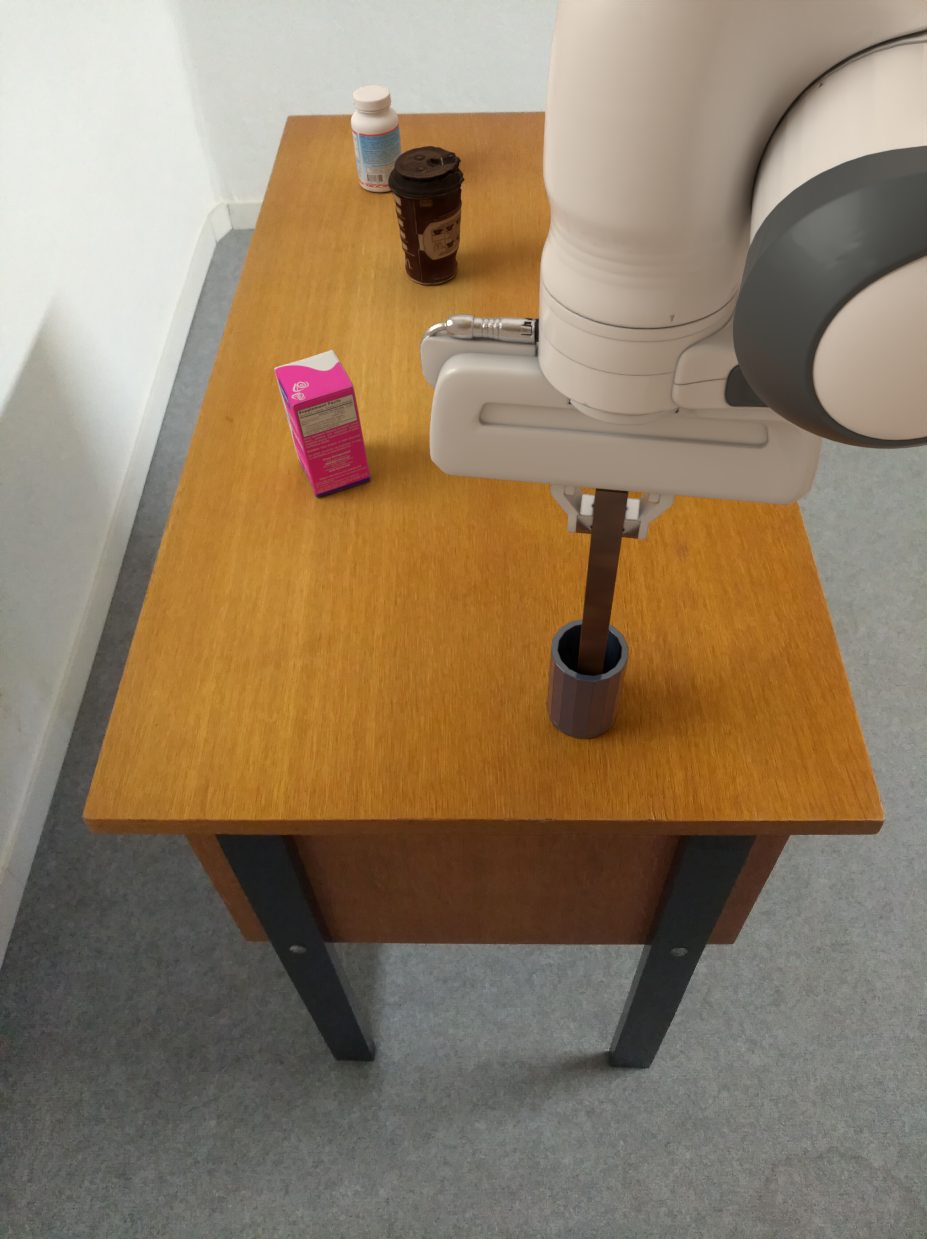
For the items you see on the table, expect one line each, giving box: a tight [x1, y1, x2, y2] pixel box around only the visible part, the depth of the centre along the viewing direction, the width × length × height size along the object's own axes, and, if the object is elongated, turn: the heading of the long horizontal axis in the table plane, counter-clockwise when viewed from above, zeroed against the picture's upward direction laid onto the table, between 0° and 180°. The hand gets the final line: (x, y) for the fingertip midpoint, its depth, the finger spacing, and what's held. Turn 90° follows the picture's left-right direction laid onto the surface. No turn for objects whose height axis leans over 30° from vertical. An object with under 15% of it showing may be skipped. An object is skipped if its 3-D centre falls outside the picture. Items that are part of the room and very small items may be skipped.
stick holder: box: [546, 618, 630, 740], centre depth 66 cm, size 5×5×8 cm
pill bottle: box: [350, 84, 403, 193], centre depth 115 cm, size 6×6×11 cm
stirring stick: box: [577, 488, 629, 676], centre depth 58 cm, size 2×2×20 cm
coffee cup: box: [388, 145, 466, 285], centre depth 101 cm, size 9×8×13 cm
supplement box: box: [273, 349, 372, 499], centre depth 82 cm, size 6×6×12 cm
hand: (607, 528), depth 53 cm, fingers closed on stirring stick, 2 cm apart
